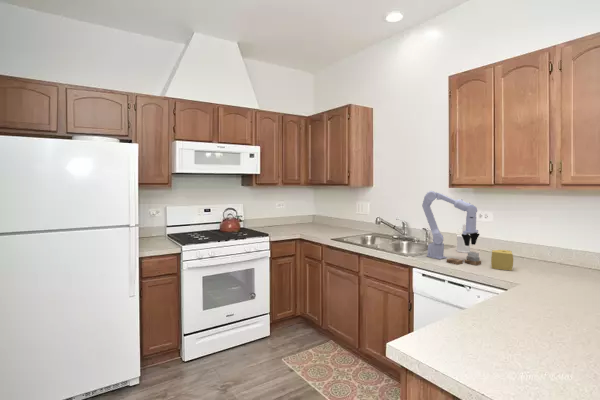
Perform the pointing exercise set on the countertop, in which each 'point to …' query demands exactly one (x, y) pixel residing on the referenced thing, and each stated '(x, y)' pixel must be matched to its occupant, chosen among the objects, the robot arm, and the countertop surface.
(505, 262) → the cheese
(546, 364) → the countertop surface
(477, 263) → the stand
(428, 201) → the robot arm
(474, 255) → the block
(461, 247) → the white bottle
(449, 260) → the stand
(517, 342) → the countertop surface
